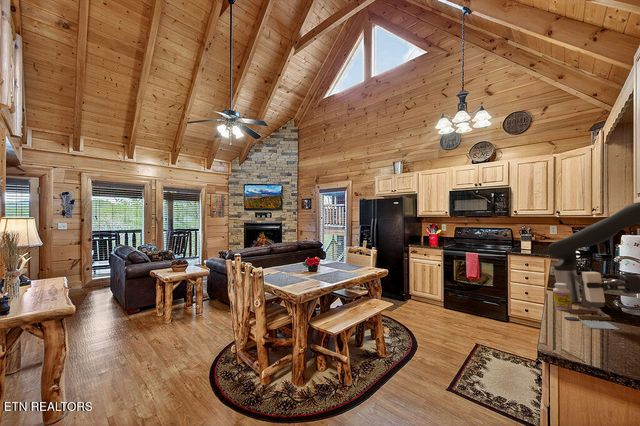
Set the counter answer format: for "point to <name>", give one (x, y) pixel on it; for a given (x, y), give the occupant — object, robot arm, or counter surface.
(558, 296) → the supplement bottle
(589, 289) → the block
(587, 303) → the coffeepot
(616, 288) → the robot arm
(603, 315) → the corral
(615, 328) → the tile
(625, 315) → the counter surface
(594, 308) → the crook
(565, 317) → the hole
